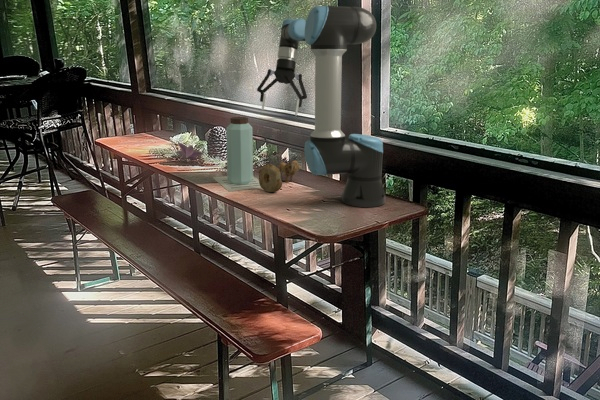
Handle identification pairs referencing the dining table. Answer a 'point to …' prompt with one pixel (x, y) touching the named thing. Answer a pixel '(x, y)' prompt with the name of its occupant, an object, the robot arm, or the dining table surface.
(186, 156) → the lily
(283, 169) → the lion figurine
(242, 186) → the letter
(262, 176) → the stone disc
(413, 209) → the dining table surface
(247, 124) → the water bottle
